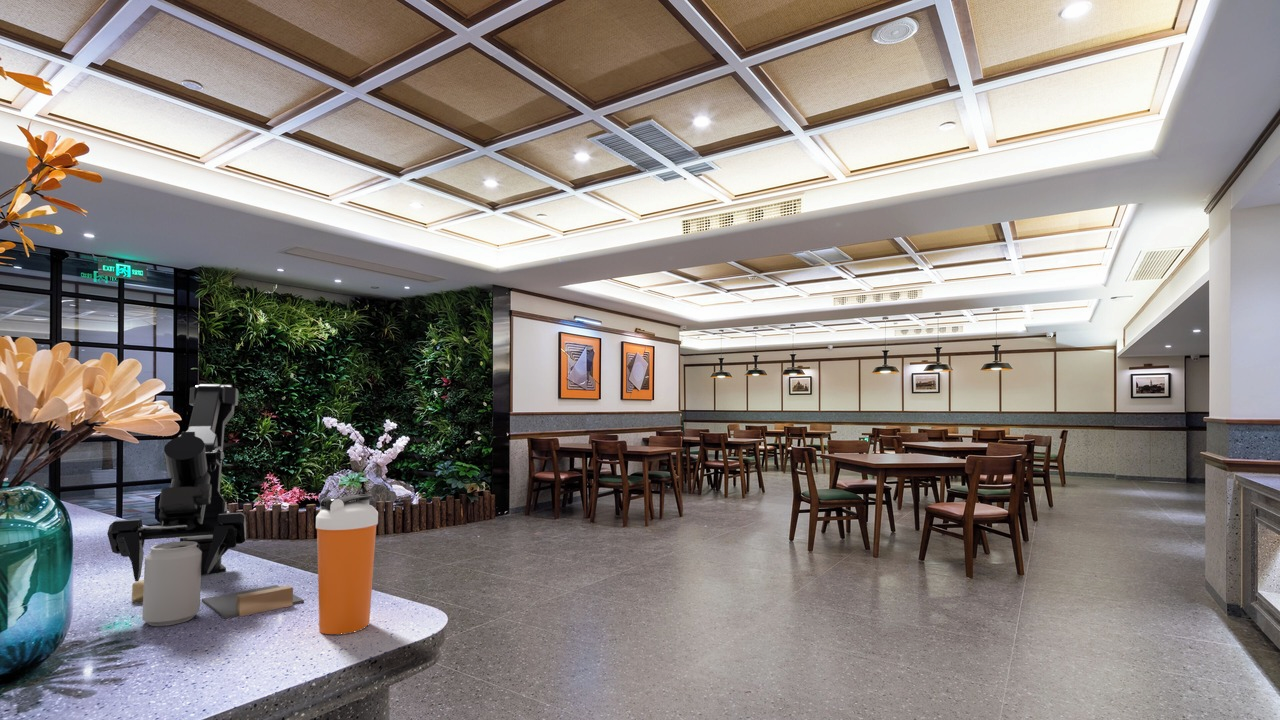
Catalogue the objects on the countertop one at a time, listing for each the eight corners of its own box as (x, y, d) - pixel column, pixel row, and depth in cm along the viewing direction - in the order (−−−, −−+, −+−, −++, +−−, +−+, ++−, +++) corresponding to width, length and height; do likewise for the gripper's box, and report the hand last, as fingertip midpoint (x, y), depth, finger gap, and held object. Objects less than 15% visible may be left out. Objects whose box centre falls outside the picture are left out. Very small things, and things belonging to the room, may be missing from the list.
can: (210, 613, 108) (213, 539, 109) (173, 628, 101) (177, 549, 102) (168, 611, 109) (171, 538, 110) (129, 627, 102) (133, 548, 102)
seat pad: (201, 600, 115) (201, 598, 115) (276, 587, 124) (276, 584, 124) (224, 618, 105) (224, 616, 105) (303, 602, 114) (303, 599, 114)
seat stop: (236, 613, 108) (236, 595, 108) (288, 603, 114) (288, 585, 114) (239, 616, 106) (240, 597, 107) (292, 605, 112) (293, 587, 112)
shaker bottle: (387, 624, 102) (390, 495, 104) (333, 642, 95) (337, 502, 96) (354, 614, 107) (357, 491, 109) (300, 630, 100) (304, 497, 101)
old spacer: (130, 598, 117) (130, 581, 117) (164, 593, 120) (165, 576, 120) (133, 605, 113) (134, 587, 113) (168, 599, 116) (169, 582, 117)
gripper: (113, 470, 106) (88, 553, 96) (247, 465, 115) (237, 541, 104) (124, 512, 113) (101, 594, 102) (249, 505, 121) (241, 580, 110)
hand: (171, 576), depth 104 cm, fingers open, 9 cm apart
